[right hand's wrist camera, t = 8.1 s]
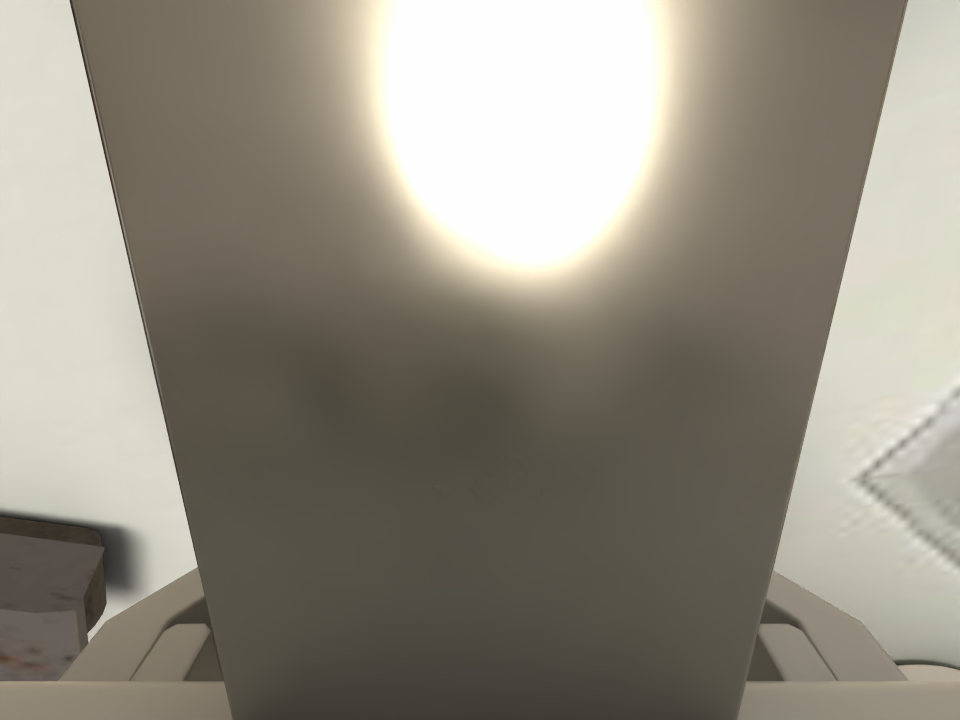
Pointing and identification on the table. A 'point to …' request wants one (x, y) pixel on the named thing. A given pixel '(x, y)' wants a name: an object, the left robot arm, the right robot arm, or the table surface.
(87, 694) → the right robot arm
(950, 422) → the table surface
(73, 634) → the toy
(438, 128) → the bar
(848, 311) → the table surface
